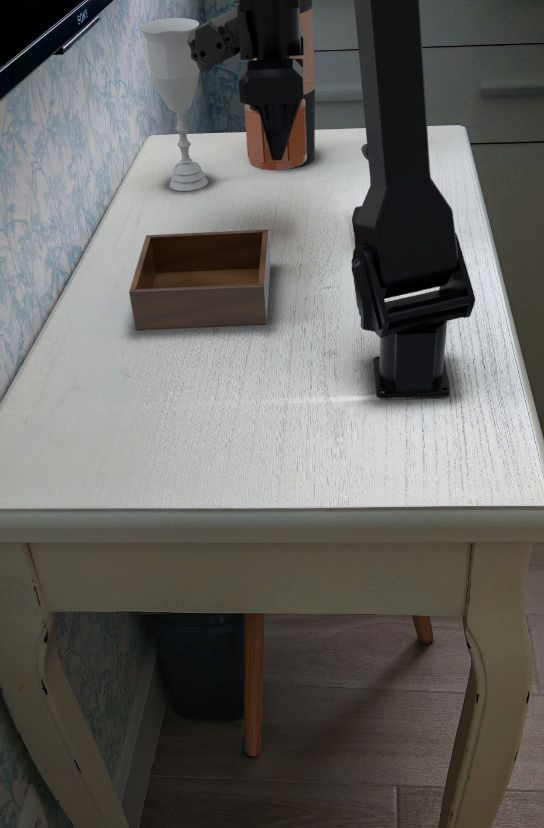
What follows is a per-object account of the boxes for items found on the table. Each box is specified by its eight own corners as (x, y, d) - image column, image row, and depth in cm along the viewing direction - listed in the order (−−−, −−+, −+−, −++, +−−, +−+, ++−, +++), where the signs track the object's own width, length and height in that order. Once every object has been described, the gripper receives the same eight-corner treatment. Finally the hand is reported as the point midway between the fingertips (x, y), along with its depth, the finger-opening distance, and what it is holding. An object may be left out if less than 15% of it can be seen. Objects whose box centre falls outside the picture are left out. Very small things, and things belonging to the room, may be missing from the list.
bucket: (306, 168, 98) (305, 112, 94) (247, 171, 99) (243, 115, 95) (306, 147, 103) (305, 93, 99) (250, 150, 103) (246, 96, 99)
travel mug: (285, 173, 120) (276, -5, 106) (249, 159, 125) (236, -13, 111) (328, 157, 124) (325, -18, 109) (291, 144, 128) (284, -26, 114)
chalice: (151, 184, 121) (128, 27, 108) (191, 169, 124) (173, 15, 111) (185, 198, 116) (165, 37, 104) (226, 182, 119) (211, 23, 107)
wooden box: (267, 329, 91) (264, 286, 88) (136, 334, 92) (128, 292, 89) (271, 269, 101) (268, 229, 97) (152, 275, 101) (145, 234, 98)
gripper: (195, -36, 96) (211, 124, 107) (177, 8, 83) (197, 185, 94) (301, -43, 95) (306, 119, 106) (300, 0, 82) (306, 179, 93)
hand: (277, 148), depth 100 cm, fingers closed on bucket, 6 cm apart
